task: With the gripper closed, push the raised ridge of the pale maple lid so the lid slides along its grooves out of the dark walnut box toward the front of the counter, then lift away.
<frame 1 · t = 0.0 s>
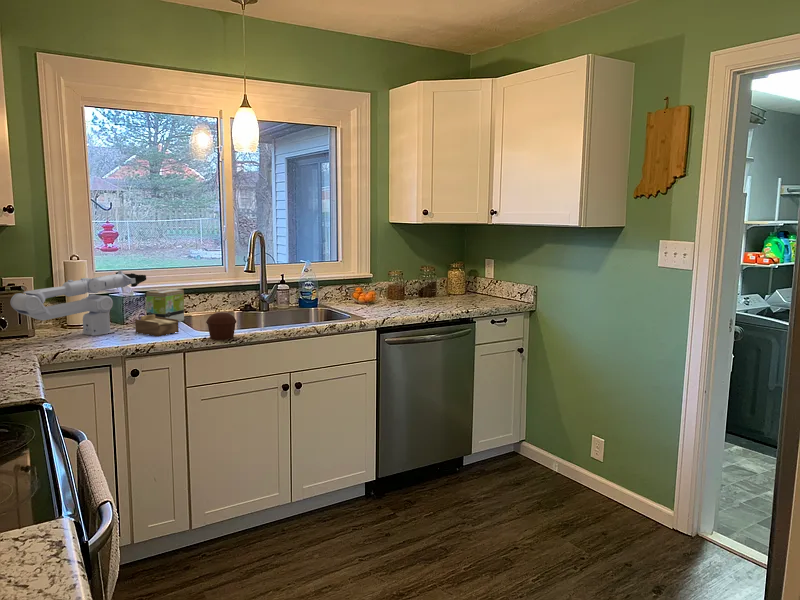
hand: (139, 276, 262), 22 cm above the counter, tool horizontal, fingers open, 7 cm apart
box: (157, 332, 252), on the counter
muffin: (221, 338, 244), on the counter
tea box: (165, 323, 278), on the counter
lid: (156, 319, 251), point 6 cm above the counter, slide at 0.0 cm
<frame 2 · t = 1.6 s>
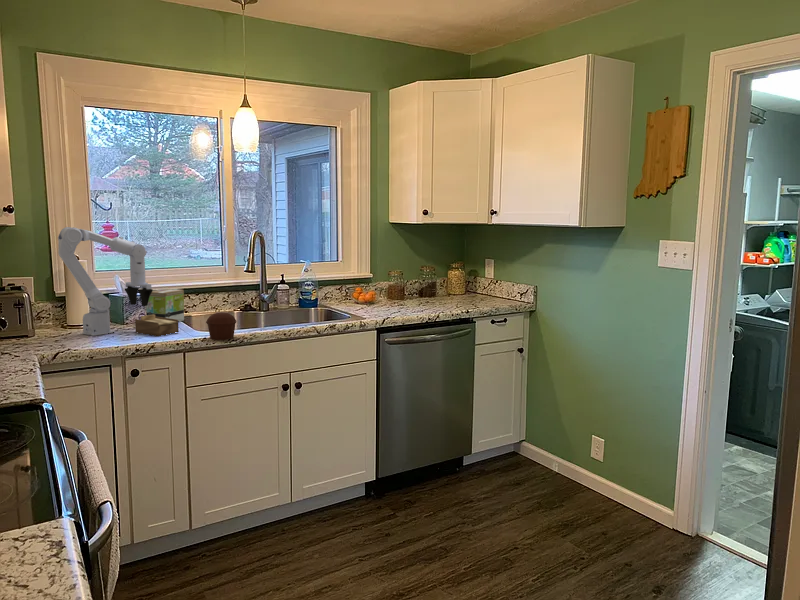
hand: (139, 305, 257), 10 cm above the counter, tool pointing down, fingers open, 7 cm apart
nothing on the counter moved.
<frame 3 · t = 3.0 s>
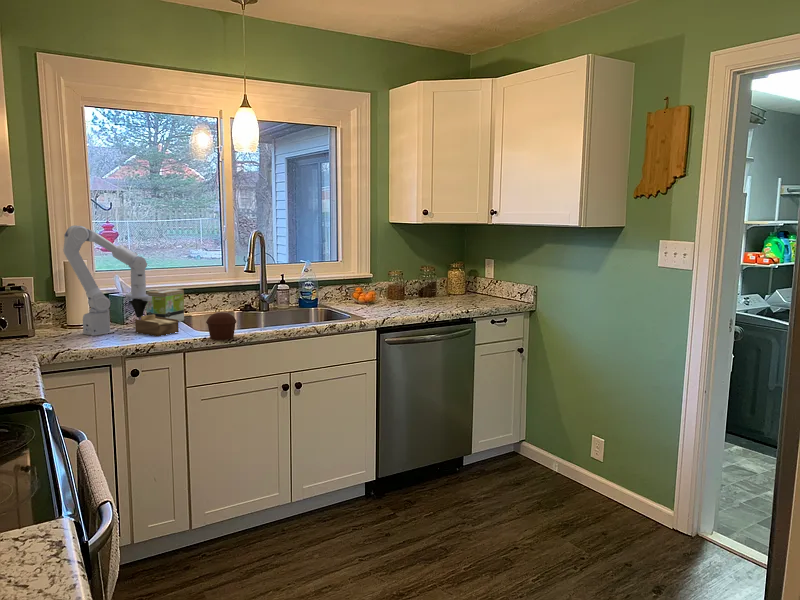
hand: (139, 317, 258), 5 cm above the counter, tool pointing down, fingers closed
nothing on the counter moved.
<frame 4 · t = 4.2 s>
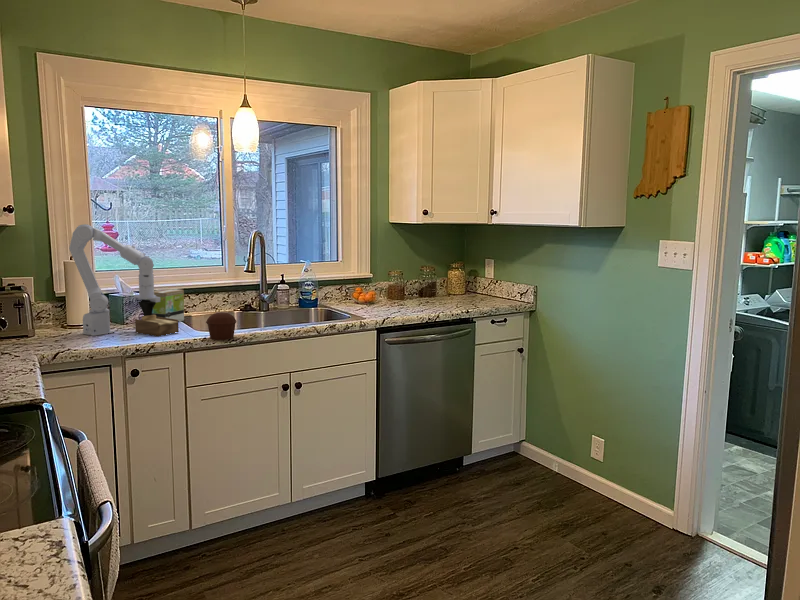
hand: (147, 318, 255), 5 cm above the counter, tool pointing down, fingers closed
lid: (157, 319, 251), point 6 cm above the counter, slide at 0.5 cm, touching gripper
everything else where it was.
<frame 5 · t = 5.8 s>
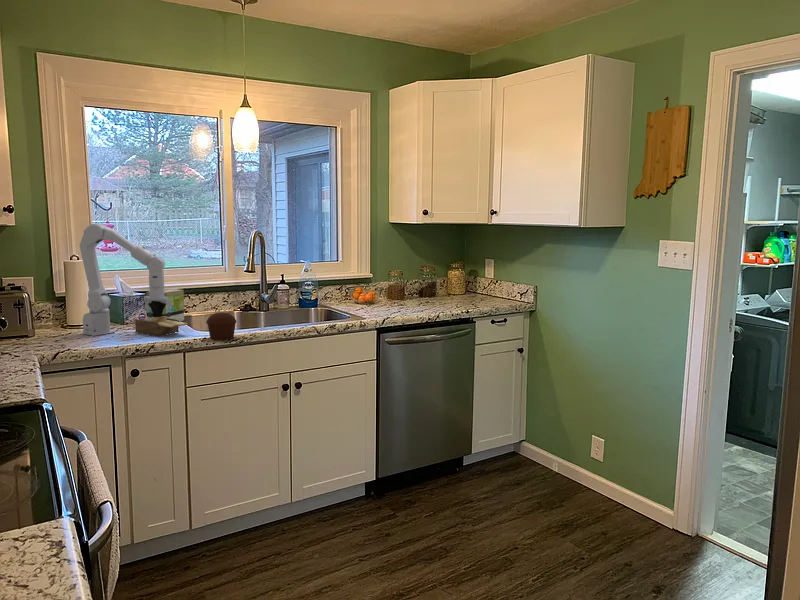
hand: (157, 319, 252), 5 cm above the counter, tool pointing down, fingers closed
lid: (168, 321, 248), point 5 cm above the counter, slide at 7.1 cm, touching gripper
everything else where it was.
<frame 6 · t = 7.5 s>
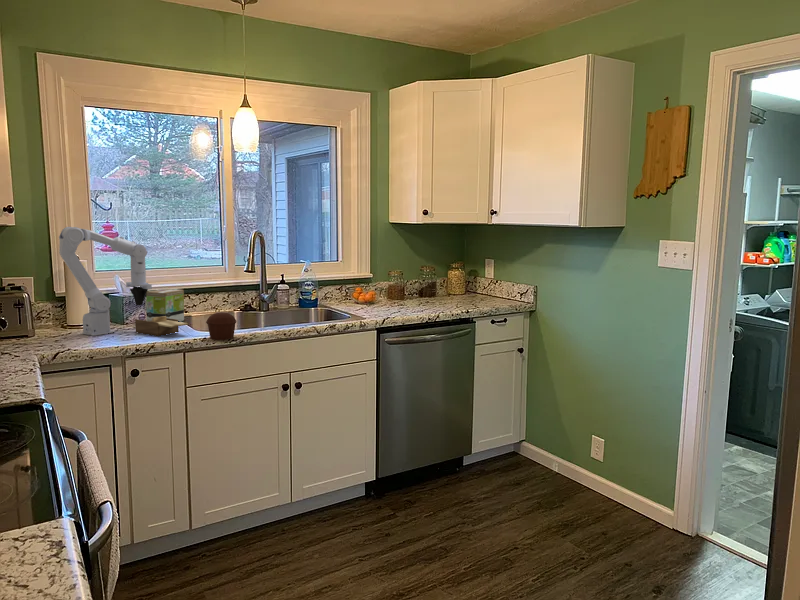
hand: (139, 305, 258), 10 cm above the counter, tool pointing down, fingers closed
lid: (168, 321, 248), point 6 cm above the counter, slide at 7.1 cm
everything else where it was.
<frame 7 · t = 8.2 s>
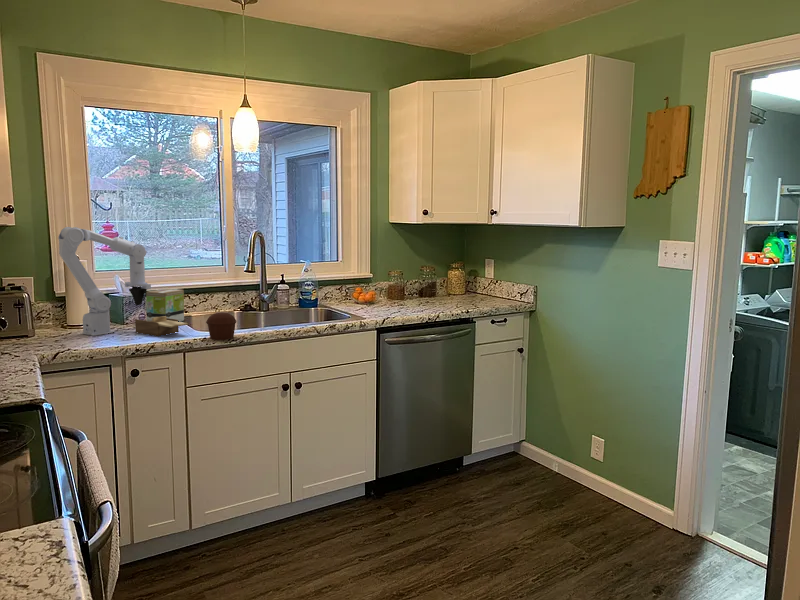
hand: (138, 304, 258), 10 cm above the counter, tool pointing down, fingers closed
nothing on the counter moved.
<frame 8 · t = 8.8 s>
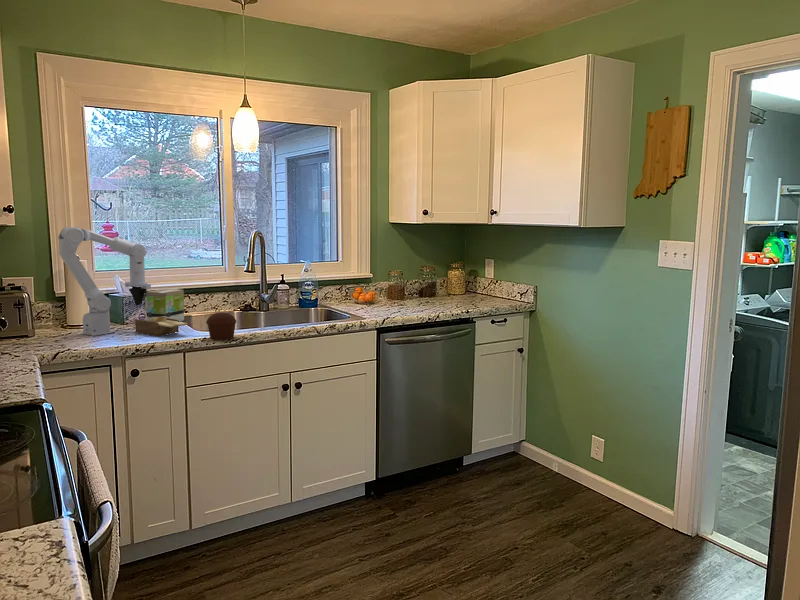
hand: (138, 304, 258), 10 cm above the counter, tool pointing down, fingers closed
nothing on the counter moved.
at the end: lid slide at 7.1 cm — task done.
